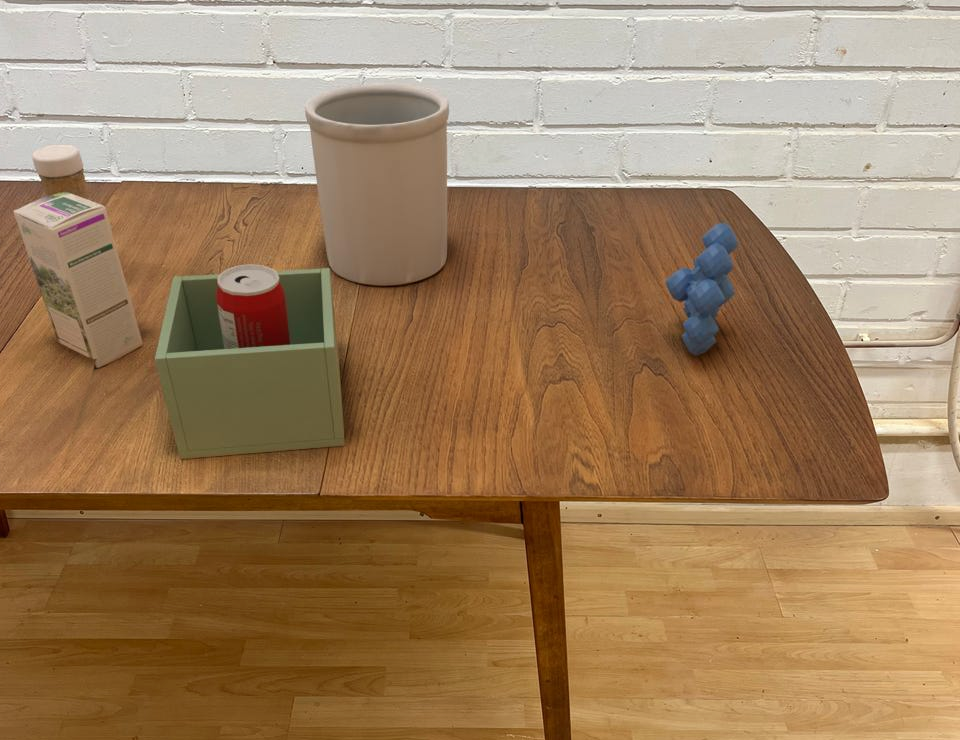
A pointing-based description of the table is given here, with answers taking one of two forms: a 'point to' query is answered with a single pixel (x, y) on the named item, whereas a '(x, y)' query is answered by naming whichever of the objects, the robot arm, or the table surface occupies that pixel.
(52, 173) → the sprinkles bottle
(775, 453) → the table surface
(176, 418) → the bin
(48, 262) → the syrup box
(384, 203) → the utensil holder
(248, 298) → the soda can
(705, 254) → the grapes
